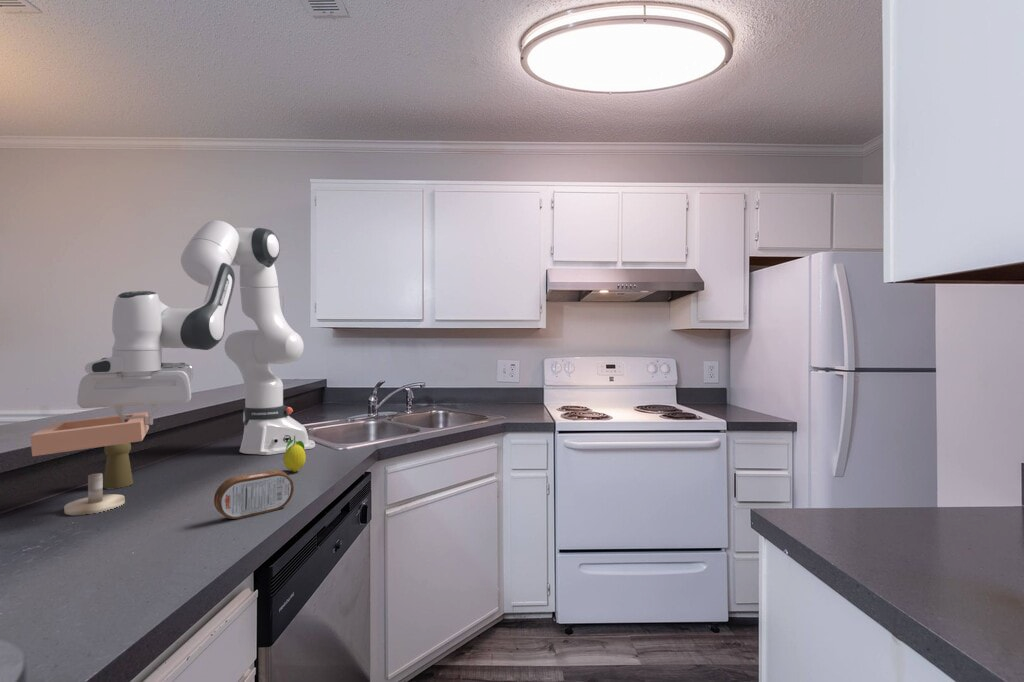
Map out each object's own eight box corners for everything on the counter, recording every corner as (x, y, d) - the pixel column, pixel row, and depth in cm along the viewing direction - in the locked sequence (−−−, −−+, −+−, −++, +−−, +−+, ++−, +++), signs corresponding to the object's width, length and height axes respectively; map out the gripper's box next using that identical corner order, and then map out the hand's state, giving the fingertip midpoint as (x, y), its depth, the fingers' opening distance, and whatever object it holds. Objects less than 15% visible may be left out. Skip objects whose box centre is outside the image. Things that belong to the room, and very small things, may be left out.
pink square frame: (148, 428, 119) (147, 411, 119) (142, 440, 105) (140, 422, 105) (54, 440, 110) (52, 422, 110) (32, 456, 96) (30, 435, 96)
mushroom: (127, 496, 114) (127, 466, 114) (121, 509, 106) (121, 476, 106) (69, 504, 109) (69, 472, 109) (59, 518, 101) (59, 484, 101)
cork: (116, 490, 119) (115, 444, 119) (95, 488, 121) (95, 443, 120) (139, 483, 125) (139, 439, 125) (119, 481, 126) (119, 438, 126)
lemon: (285, 476, 132) (285, 438, 132) (278, 472, 136) (278, 435, 136) (310, 472, 136) (311, 435, 136) (303, 467, 140) (303, 432, 140)
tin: (290, 503, 111) (290, 465, 111) (295, 507, 108) (295, 468, 108) (213, 520, 100) (213, 479, 100) (217, 525, 98) (217, 482, 98)
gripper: (193, 361, 119) (193, 419, 119) (81, 363, 108) (81, 427, 109) (192, 363, 114) (192, 423, 114) (75, 365, 103) (75, 432, 103)
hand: (137, 425), depth 111 cm, fingers closed on pink square frame, 3 cm apart
